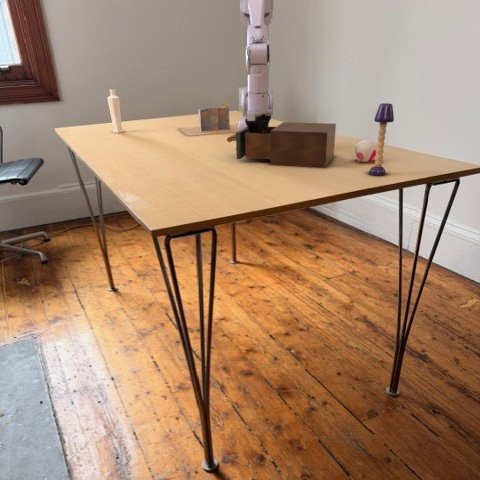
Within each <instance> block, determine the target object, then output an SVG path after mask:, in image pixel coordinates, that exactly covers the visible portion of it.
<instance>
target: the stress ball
mask: <svg viewBox="0 0 480 480" xmlns="http://www.w3.org/2000/svg"><path fill="white" fill-rule="evenodd" d="M376 150H377V144H375V142H374V141H372V140H370V139H363V140H360V141H359V142H358V143H357V144H356V145H355V148H354V154H355V157H356V159H355V160H354V161H355V162H356V161H357V160H359V161H360V162H362V163H368V162H374V159H375V158H376V155H377V153H376Z"/></svg>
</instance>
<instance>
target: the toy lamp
mask: <svg viewBox="0 0 480 480" xmlns="http://www.w3.org/2000/svg"><path fill="white" fill-rule="evenodd" d="M373 121H374V122H376V123H379V126H378V127H379V129H378V136H377V143H376V148H377V150H376V156H375V160H374V166H371V168H370V169H369V170H368V174H369V175H370V176H384V175H386V174H387V172H386V169H385V167H383V166H382V165H383V157H384V156H383V155H384V151H385V150H384V147H385V140H386V133H387V126H388V124H389V123H394V122H395V115H394V108H393V104H392V103H389V102H387V103H386V102H385V103H384V102H383V103H380V104H379V105H378V108H377V110H376V113H375V116H374V120H373Z"/></svg>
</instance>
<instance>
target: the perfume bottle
mask: <svg viewBox="0 0 480 480" xmlns="http://www.w3.org/2000/svg"><path fill="white" fill-rule="evenodd" d="M109 93H110V95H109V96H108V97H107V98H106V100H107V104H108V109H109V114H110V119H111V122H112V128H113V131H112V133H114V134H115V133H116V134H119V133H124V130H123V127H122V113H121V112H122V111H121V100H120V96H118V95H116V89H115V88H113V89H109Z"/></svg>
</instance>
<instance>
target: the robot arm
mask: <svg viewBox="0 0 480 480" xmlns="http://www.w3.org/2000/svg"><path fill="white" fill-rule="evenodd" d="M239 11H240V20H241V24H242V25H244V26H245V27H247V31H246V36H247V37H246V38H247V39H246V40H247V41H246V42H247V44H246V46H245V65H246V70H247V73H246V74H247V85H246V86H245V87H244V88H243V89H242V91H241V116H242V117H243V118H241V117H240V119H239V120H238V124H237V125H238V131H240V130H242V129H244V128H245V127H248V129H249V132H250V133H262V130H265V133H266V131H267V127H268V126H269V125H270V121H271V119H272V117H273V115H274V94H273V93H274V92H273V89H272V88H271V87H270V86H269V76H270V75H269V69H270V66H271V45H270V40H269V30H268V26H269V25H270V24H272V19H273V16H274V15H273V11H274V0H239ZM269 127H270V126H269Z"/></svg>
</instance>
